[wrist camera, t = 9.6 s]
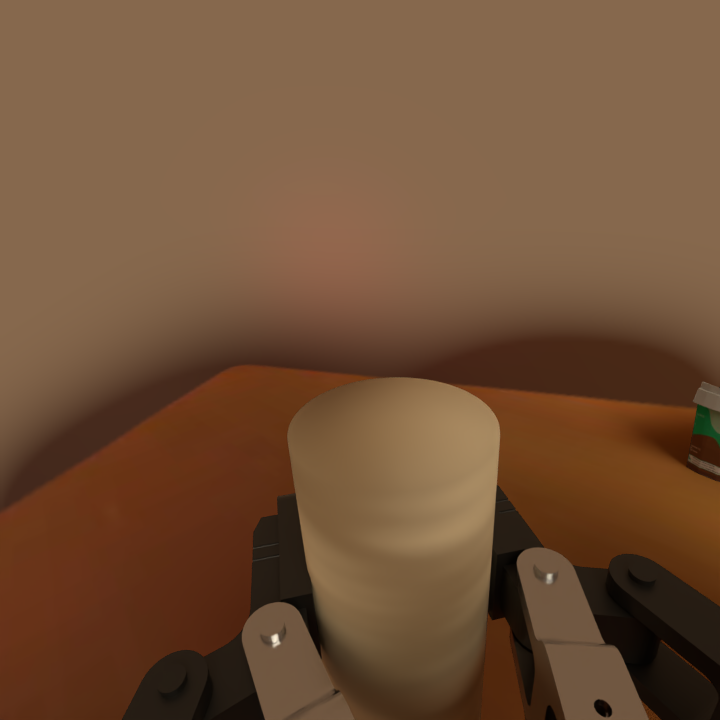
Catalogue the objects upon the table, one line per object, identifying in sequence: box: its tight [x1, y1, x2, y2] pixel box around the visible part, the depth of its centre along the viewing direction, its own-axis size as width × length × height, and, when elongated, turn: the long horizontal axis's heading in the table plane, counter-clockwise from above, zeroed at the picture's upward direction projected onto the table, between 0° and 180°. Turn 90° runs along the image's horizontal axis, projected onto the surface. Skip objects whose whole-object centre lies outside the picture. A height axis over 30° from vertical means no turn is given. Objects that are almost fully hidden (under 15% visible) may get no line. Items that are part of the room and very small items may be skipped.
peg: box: [287, 377, 500, 720], centre depth 12 cm, size 4×4×12 cm
